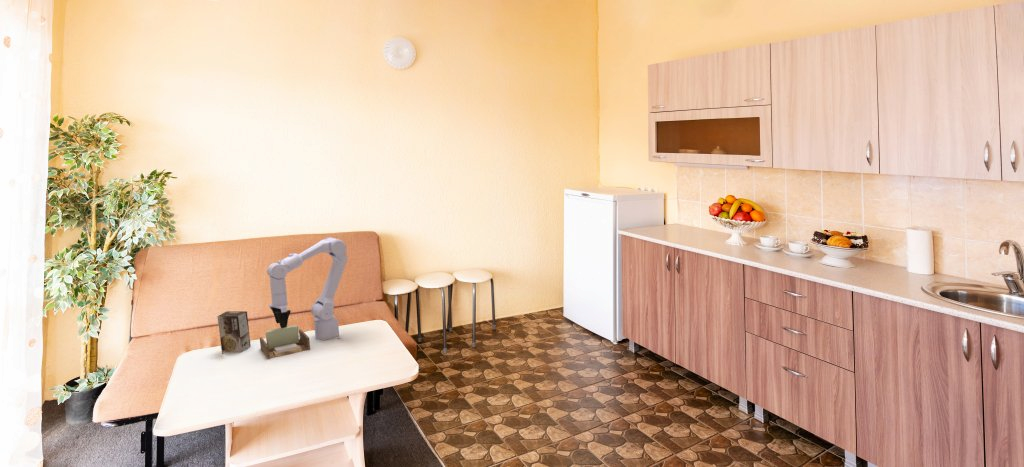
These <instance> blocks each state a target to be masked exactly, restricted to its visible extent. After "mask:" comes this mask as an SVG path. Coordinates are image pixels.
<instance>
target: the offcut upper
mask: <svg viewBox="0 0 1024 467" xmlns="http://www.w3.org/2000/svg"><path fill="white" fill-rule="evenodd" d="M295 349H298V346H297V345H296V344H290V345H285V346H281V347H276V348H274V351H275V352H276V353H281V352H286V351H290V350H295Z"/></svg>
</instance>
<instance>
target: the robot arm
mask: <svg viewBox="0 0 1024 467" xmlns="http://www.w3.org/2000/svg"><path fill="white" fill-rule="evenodd" d="M347 250H348V247H347V245H346V244H345V242H344V241H343V240H342V239H339V238H334V237H333V236H328V237H326V238H324V239H321V240H320V241H318V242H317V243H315V244H314V245H312V246H310V247H308V248H307V249H305V250H304V251H302V252H300V253H295V252H293V253H289V254H288V256H287V257H285V258H283V259H278V261H277V262H273V263H271V264H269V266H268V267H267V270H266V273H267V275H268V276H269V281H270V282H269V286H270V295H271V297H270V298H271V303H269V304H268V307H269V308H270V309H271V311H272V313H273V317H274V318H275V319H274V320H275V322H276V324H279V326H280V327H279V328H286V327H288V324H289V322H288V321H289V317H290V314H291V313H292V312H291V310H290V309H288V308H287V307H288V305H289V302H288V297H287V296H288V294H287V284H286V277H287V274H288V273H290V272H292V271H294V270H296V269H297V268H299V267H301V266H303V263H304V261H306V260H309V259H310V258H312V257H314V256H316V255H319V254H321V253H327V254H329V256H330V257H331V259H332V263H331V267H330V269H329V272H328V275H327V278H326V281H325V283H324V286H323V289H322V291H321V294H320V296H318V297H317V298H316V300H315V302H314V303H313V304H312V306H311V309H310V312H311V314H312V315H313V316H314V318H313V323H314V324H313V325H314V326H313V327H314V336H315V339H316V340H319V341H323V340H330V339H333V338H336V339H341V337H340V330H339V327H340V326H339V320H338V317H336V316H334V315H335V314H334V312H335V310H334V309H335V301H334V298H335V296H336V293H337V290H338V288H339V284H340V282H341V279H342V276H343V274H344V270H345V267H346V265H347V263H348V262H347V261H348V255H347Z"/></svg>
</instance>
